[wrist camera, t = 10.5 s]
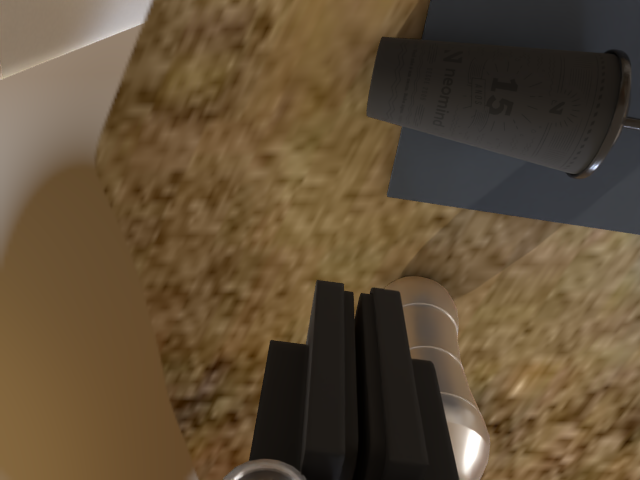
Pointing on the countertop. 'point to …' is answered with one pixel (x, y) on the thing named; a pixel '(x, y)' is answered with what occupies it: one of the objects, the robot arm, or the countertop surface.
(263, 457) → the robot arm
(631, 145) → the mat
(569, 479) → the countertop surface
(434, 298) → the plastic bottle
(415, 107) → the drinking cup
